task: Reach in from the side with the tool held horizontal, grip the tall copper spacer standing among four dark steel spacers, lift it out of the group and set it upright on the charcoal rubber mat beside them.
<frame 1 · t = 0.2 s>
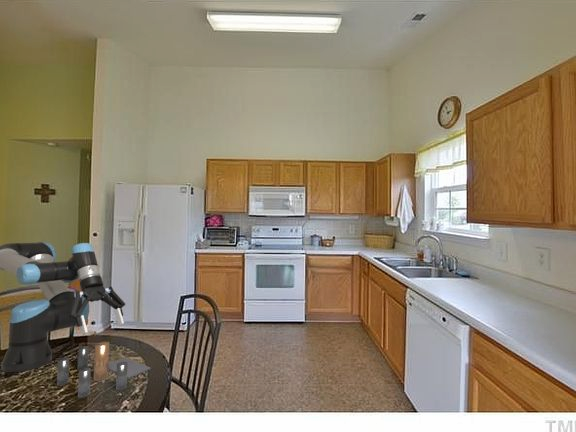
hand: (104, 329, 118), 15 cm above the table, tool tilted 35°, fingers open, 13 cm apart
rubber mat: (126, 367, 119), on the table
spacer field: (100, 378, 111), on the table
copper spacer: (100, 378, 111), on the table
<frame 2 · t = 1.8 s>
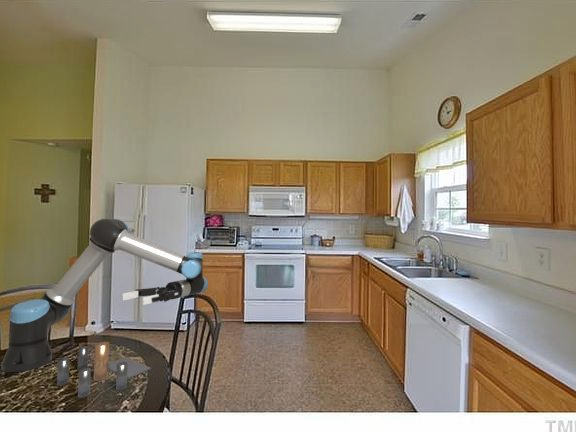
hand: (132, 299, 121), 26 cm above the table, tool horizontal, fingers open, 13 cm apart
nothing on the table moved.
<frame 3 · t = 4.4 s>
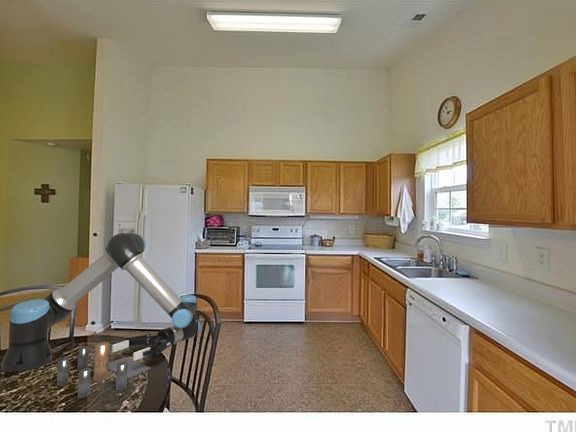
hand: (122, 352, 117), 6 cm above the table, tool horizontal, fingers open, 13 cm apart
nothing on the table moved.
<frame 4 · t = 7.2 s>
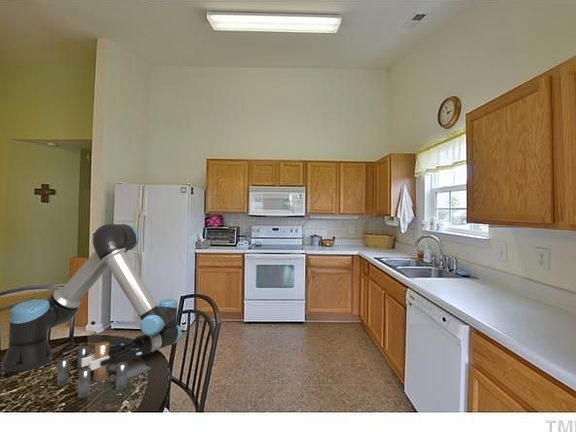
hand: (85, 364, 106), 7 cm above the table, tool horizontal, fingers closed on copper spacer, 4 cm apart
copper spacer: (100, 378, 111), on the table, touching gripper
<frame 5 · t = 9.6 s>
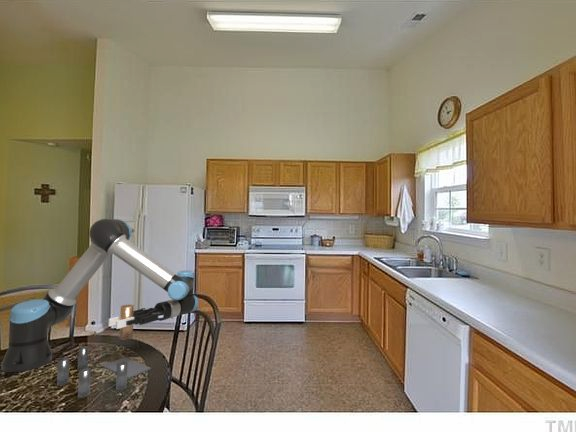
hand: (112, 323, 114), 18 cm above the table, tool horizontal, fingers closed on copper spacer, 4 cm apart
copper spacer: (126, 337, 119), point 12 cm above the table, touching gripper
when the fingers open (8 cm above the table, at t = 12.3 s): copper spacer stays where it is, resting on rubber mat.
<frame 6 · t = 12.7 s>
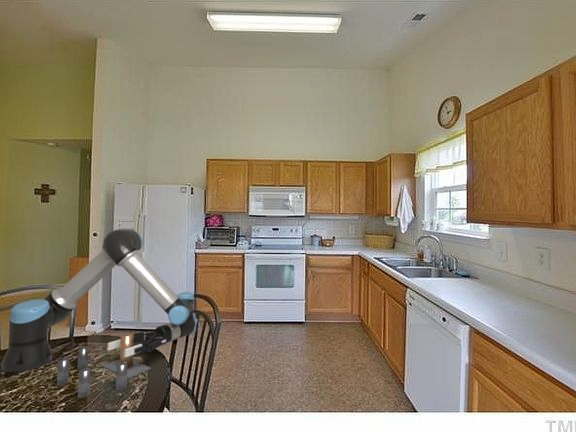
hand: (116, 350, 115), 8 cm above the table, tool horizontal, fingers open, 10 cm apart
copper spacer: (126, 366, 119), point 1 cm above the table, touching rubber mat
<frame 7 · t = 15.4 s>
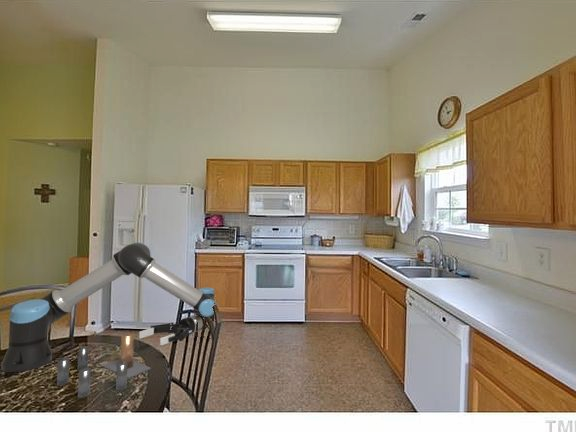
hand: (149, 338, 127), 8 cm above the table, tool horizontal, fingers open, 13 cm apart
nothing on the table moved.
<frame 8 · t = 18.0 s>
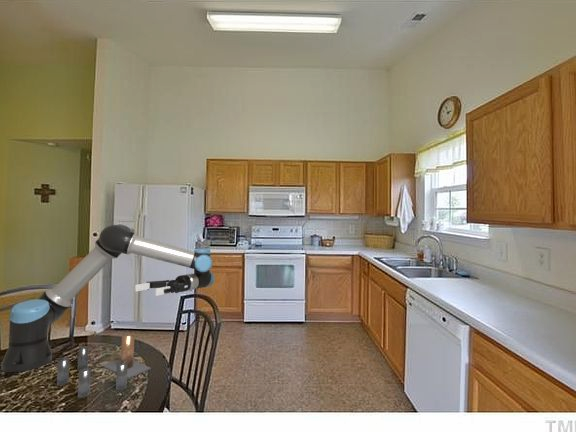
hand: (145, 290, 128), 28 cm above the table, tool horizontal, fingers open, 13 cm apart
nothing on the table moved.
at the end: copper spacer inside the target area on the rubber mat (0.1 cm from its centre), point 0.5 cm above the rubber mat's base; copper spacer tilted 1°; the gripper is holding nothing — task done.
